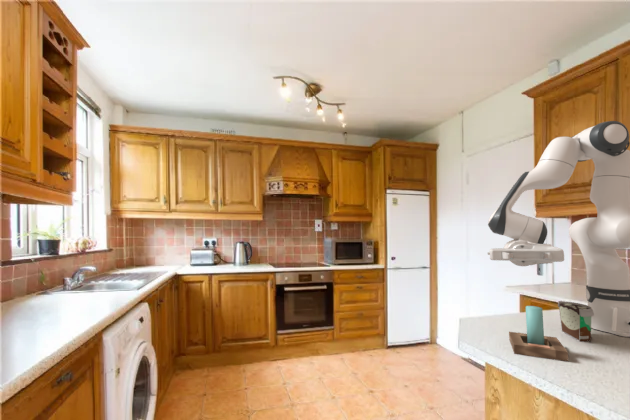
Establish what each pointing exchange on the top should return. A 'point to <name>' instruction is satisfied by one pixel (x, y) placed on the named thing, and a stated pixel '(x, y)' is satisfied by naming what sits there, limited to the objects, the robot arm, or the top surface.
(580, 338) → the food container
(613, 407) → the top surface
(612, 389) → the top surface
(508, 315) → the top surface
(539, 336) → the teal peg
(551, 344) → the hole plate
